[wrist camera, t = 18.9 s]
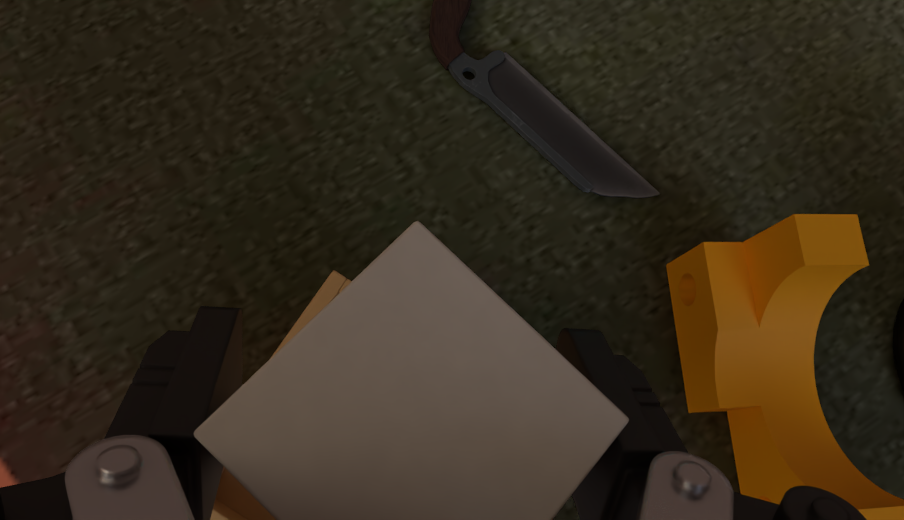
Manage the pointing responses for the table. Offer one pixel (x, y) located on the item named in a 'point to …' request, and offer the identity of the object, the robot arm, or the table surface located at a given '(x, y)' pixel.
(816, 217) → the pipe clamp
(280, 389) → the gray block
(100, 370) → the table surface
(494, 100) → the knife
